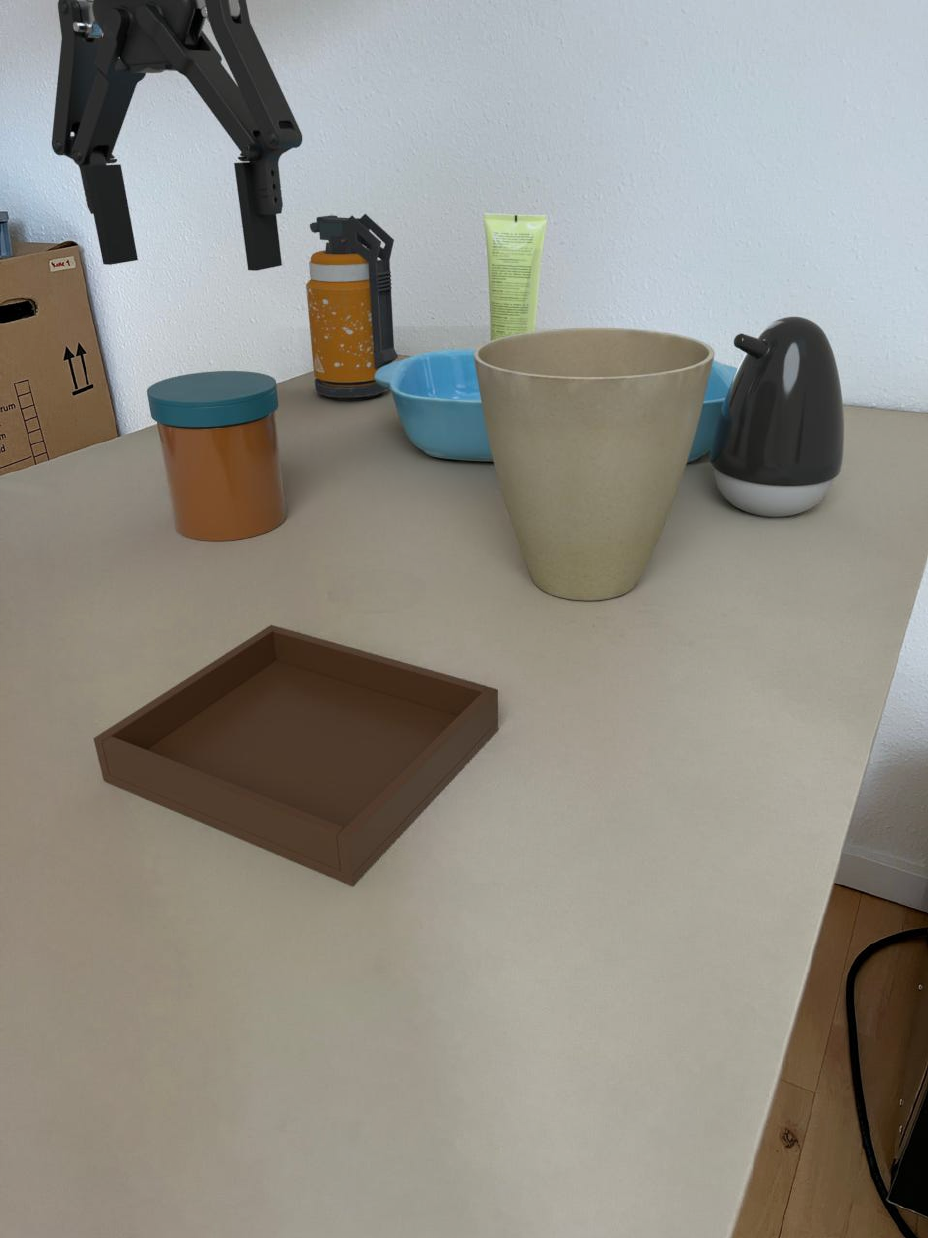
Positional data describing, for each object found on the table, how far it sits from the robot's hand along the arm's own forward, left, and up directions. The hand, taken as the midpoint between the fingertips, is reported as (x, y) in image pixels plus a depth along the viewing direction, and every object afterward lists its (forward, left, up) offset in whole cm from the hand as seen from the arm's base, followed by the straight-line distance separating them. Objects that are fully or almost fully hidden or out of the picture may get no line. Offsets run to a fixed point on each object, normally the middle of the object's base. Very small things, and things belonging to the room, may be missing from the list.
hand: (190, 265), depth 67 cm
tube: (0, +50, -20) cm, 54 cm away
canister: (-15, +39, -20) cm, 46 cm away
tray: (+25, -22, -20) cm, 39 cm away
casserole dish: (+14, +33, -20) cm, 41 cm away
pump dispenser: (+37, +24, -20) cm, 49 cm away
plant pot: (+29, +4, -20) cm, 36 cm away
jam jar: (-1, +1, -20) cm, 20 cm away
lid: (-1, +1, -9) cm, 9 cm away
